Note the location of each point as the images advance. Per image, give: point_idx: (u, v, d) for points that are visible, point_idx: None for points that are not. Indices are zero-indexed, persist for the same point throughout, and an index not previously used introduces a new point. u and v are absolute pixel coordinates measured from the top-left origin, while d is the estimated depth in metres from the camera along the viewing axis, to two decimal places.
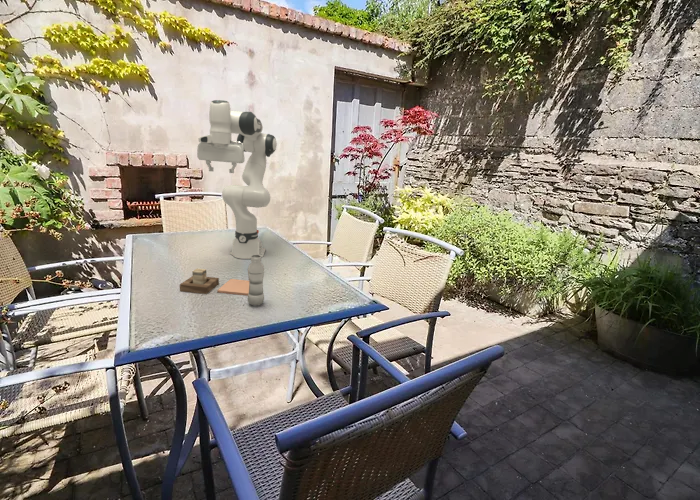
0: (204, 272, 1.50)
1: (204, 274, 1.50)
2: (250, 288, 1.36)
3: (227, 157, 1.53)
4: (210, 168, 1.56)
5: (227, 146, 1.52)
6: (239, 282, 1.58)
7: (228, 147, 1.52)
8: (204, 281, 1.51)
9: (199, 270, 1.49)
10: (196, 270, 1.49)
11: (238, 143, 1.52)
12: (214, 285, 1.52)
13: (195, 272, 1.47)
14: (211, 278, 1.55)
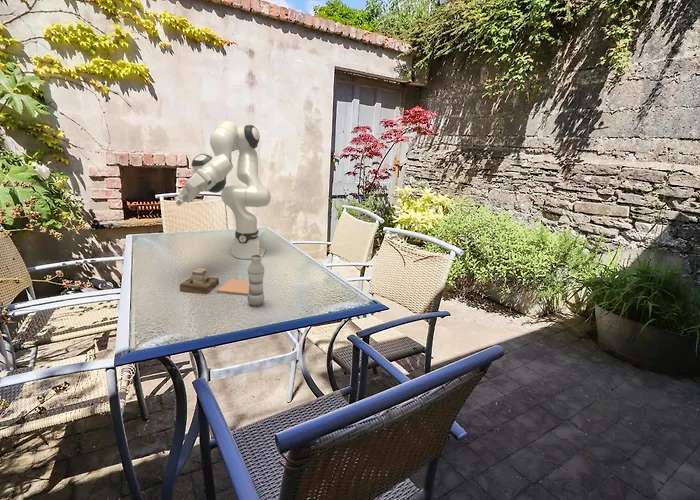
0: (204, 272, 1.50)
1: (204, 274, 1.50)
2: (250, 288, 1.36)
3: (192, 196, 1.54)
4: (182, 197, 1.44)
5: None
6: (239, 282, 1.58)
7: None
8: (204, 281, 1.51)
9: (199, 270, 1.49)
10: (196, 270, 1.49)
11: None
12: (214, 285, 1.52)
13: (195, 272, 1.47)
14: (211, 278, 1.55)
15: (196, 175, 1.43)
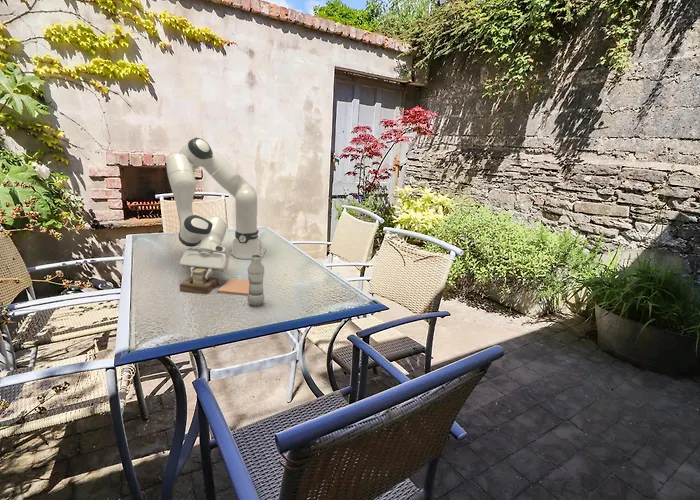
0: (204, 272, 1.50)
1: None
2: (250, 288, 1.36)
3: None
4: None
5: None
6: (239, 282, 1.58)
7: None
8: (204, 281, 1.51)
9: (199, 270, 1.49)
10: (196, 270, 1.49)
11: None
12: (214, 285, 1.52)
13: (195, 272, 1.47)
14: (211, 278, 1.55)
15: (226, 257, 1.53)
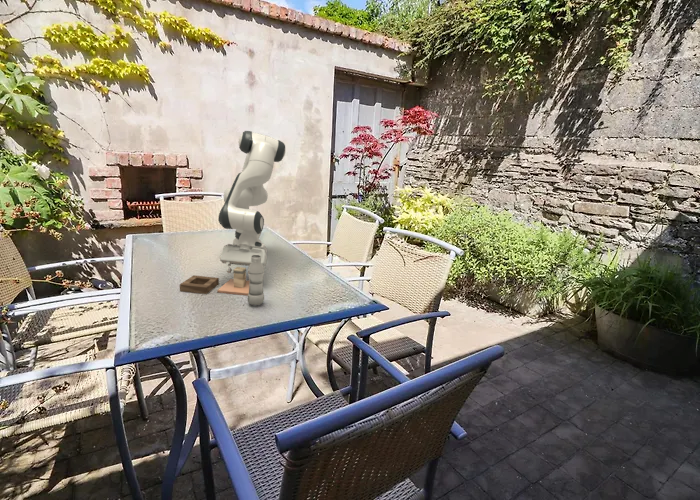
0: (244, 270, 1.52)
1: (244, 272, 1.53)
2: (250, 288, 1.36)
3: None
4: None
5: None
6: None
7: None
8: (244, 279, 1.53)
9: (240, 268, 1.52)
10: (237, 268, 1.51)
11: None
12: (214, 285, 1.52)
13: (236, 270, 1.50)
14: (211, 278, 1.55)
15: (265, 253, 1.55)
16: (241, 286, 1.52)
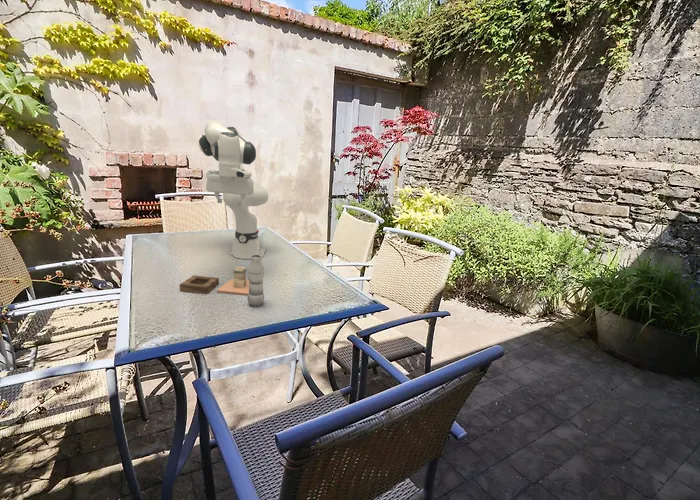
0: (244, 270, 1.52)
1: (244, 272, 1.53)
2: (250, 288, 1.36)
3: None
4: None
5: None
6: None
7: None
8: (244, 279, 1.53)
9: (240, 268, 1.52)
10: (237, 268, 1.51)
11: None
12: (214, 285, 1.52)
13: (236, 270, 1.50)
14: (211, 278, 1.55)
15: (250, 182, 1.50)
16: (241, 286, 1.52)
